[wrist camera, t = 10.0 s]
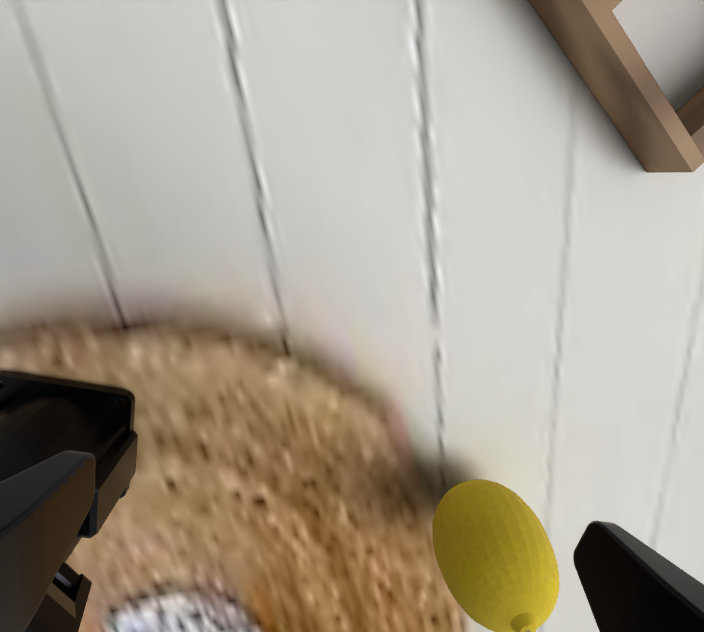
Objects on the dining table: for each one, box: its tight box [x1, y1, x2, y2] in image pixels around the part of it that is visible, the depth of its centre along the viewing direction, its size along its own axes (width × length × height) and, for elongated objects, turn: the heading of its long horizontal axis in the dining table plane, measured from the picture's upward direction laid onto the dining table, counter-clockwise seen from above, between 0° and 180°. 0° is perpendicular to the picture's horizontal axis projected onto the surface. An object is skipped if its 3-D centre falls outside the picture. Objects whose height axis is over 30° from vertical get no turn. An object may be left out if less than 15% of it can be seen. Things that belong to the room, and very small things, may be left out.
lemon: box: [433, 480, 559, 632], centre depth 20 cm, size 6×6×8 cm
